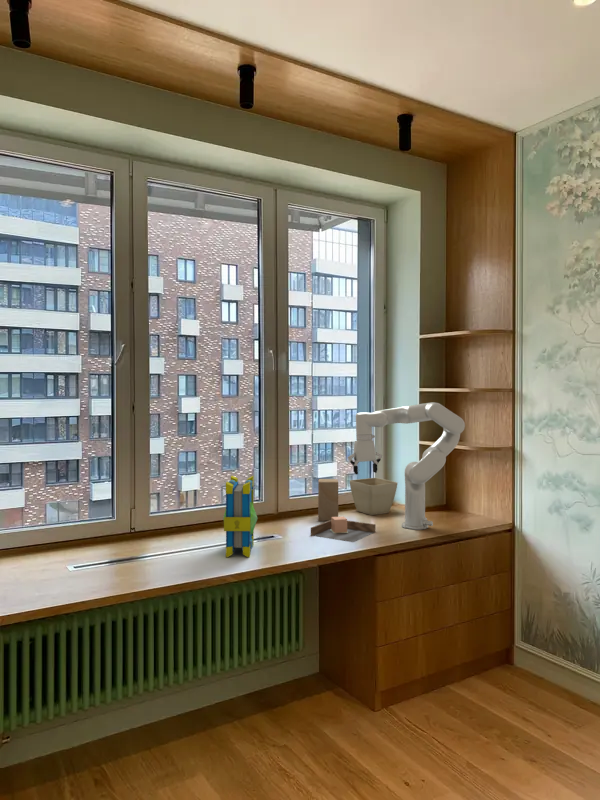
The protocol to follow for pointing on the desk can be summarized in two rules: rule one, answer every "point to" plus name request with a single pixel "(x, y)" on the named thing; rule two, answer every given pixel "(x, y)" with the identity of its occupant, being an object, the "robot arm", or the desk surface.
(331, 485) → the wooden block
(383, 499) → the flower pot
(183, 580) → the desk surface
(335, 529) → the cube
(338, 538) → the tray
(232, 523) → the decorative book
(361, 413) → the robot arm
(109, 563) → the desk surface
